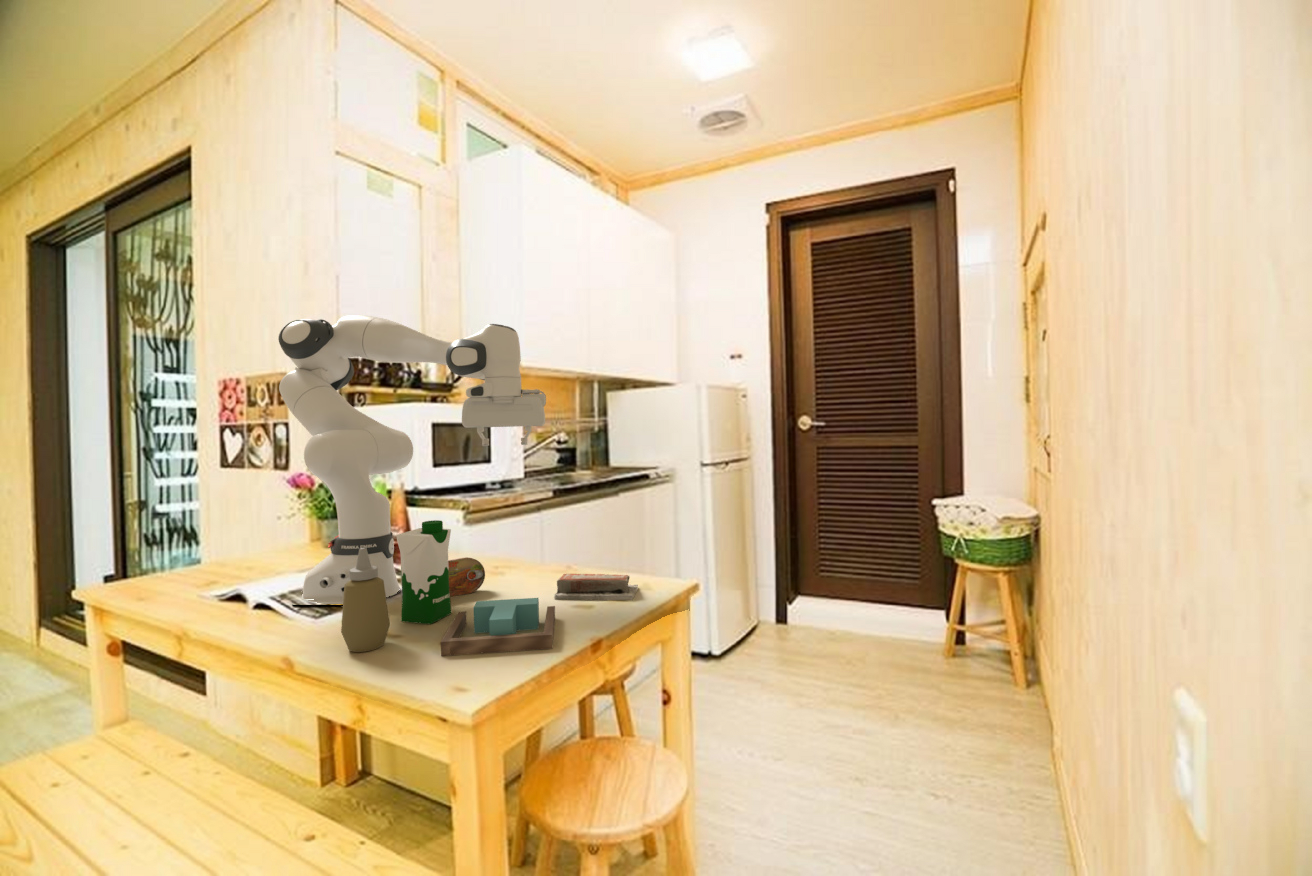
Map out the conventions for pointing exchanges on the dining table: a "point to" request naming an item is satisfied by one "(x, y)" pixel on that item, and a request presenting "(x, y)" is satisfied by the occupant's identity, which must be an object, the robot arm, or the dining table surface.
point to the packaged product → (594, 587)
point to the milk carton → (425, 573)
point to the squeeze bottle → (364, 607)
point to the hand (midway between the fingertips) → (505, 445)
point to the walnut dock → (495, 638)
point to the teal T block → (506, 616)
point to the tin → (465, 576)
